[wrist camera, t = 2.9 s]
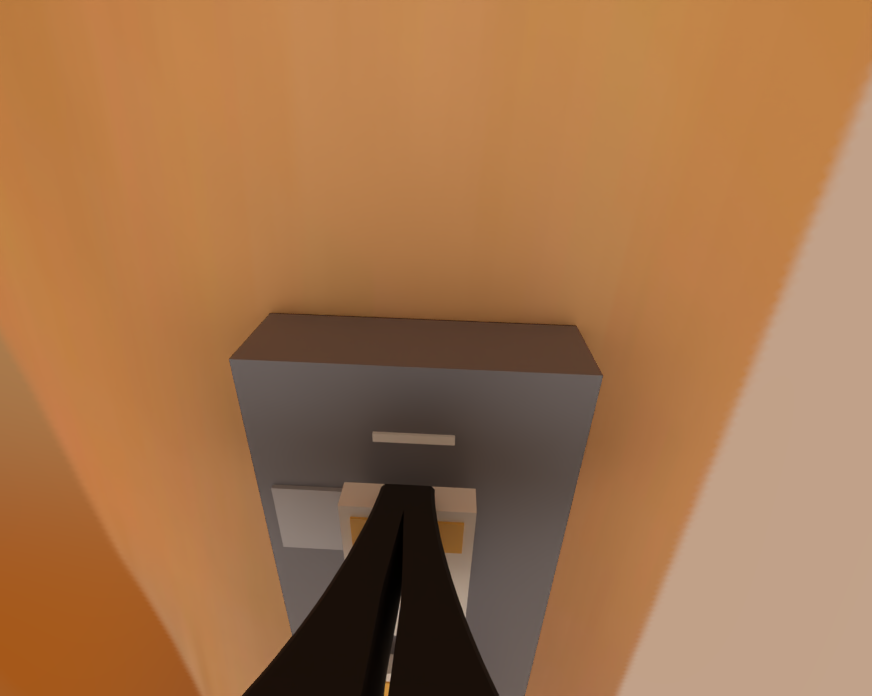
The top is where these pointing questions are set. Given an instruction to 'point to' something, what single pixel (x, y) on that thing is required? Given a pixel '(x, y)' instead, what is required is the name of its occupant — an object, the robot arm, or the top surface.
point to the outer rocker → (453, 523)
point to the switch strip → (422, 449)
